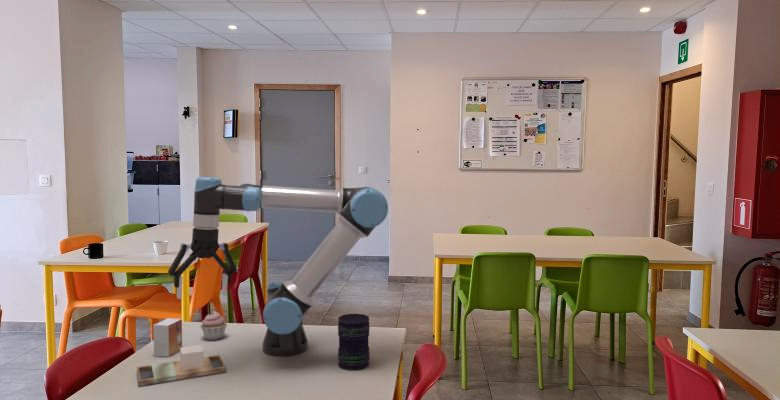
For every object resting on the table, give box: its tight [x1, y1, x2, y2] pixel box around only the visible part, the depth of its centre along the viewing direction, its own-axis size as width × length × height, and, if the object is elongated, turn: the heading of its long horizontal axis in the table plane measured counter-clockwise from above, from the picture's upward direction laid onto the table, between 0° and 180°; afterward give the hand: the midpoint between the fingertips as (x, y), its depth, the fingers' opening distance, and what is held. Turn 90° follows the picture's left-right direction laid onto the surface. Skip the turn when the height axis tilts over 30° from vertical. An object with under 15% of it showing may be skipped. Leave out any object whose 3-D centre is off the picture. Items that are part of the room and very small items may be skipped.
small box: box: [152, 317, 183, 358], centre depth 181 cm, size 8×6×10 cm
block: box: [179, 344, 205, 371], centre depth 166 cm, size 6×6×5 cm
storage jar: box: [337, 313, 370, 372], centre depth 171 cm, size 10×10×15 cm
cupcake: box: [199, 310, 228, 341], centre depth 197 cm, size 9×9×10 cm
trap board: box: [136, 354, 227, 388], centre depth 165 cm, size 24×12×2 cm, turn 117°
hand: (202, 296), depth 168 cm, fingers open, 13 cm apart
